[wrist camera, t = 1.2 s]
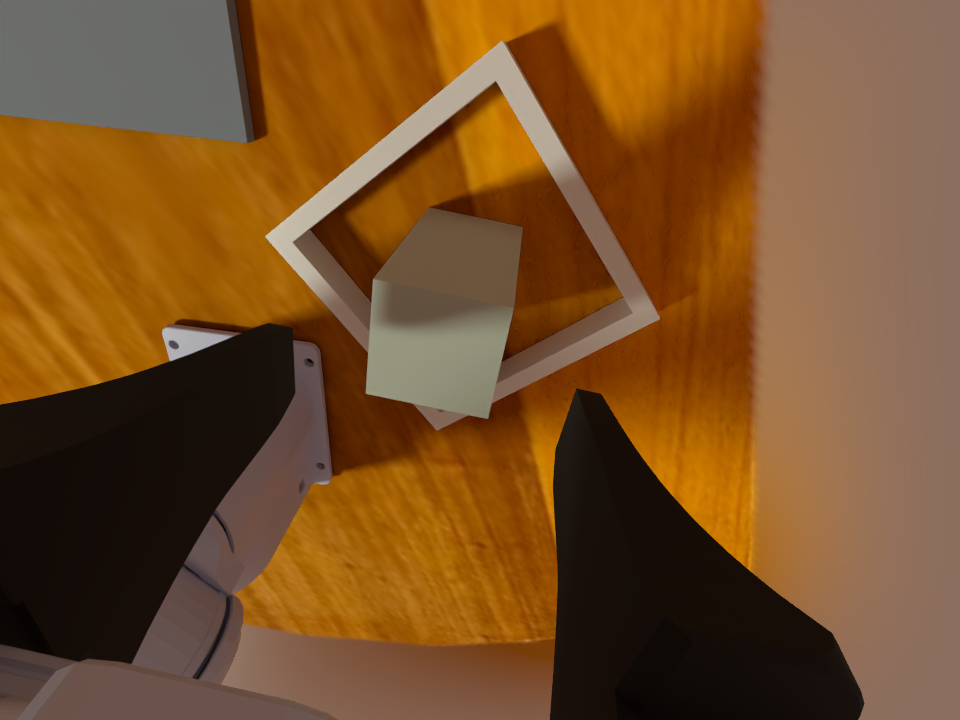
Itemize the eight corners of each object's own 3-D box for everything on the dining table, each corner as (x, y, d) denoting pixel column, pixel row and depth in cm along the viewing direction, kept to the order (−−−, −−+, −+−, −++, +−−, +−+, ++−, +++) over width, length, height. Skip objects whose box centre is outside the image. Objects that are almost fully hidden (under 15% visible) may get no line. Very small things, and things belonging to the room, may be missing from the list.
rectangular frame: (651, 300, 21) (660, 318, 20) (443, 408, 26) (436, 430, 24) (505, 42, 17) (502, 40, 16) (284, 224, 21) (265, 236, 20)
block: (523, 226, 20) (514, 308, 14) (504, 311, 23) (487, 418, 16) (429, 207, 20) (373, 279, 14) (418, 294, 23) (365, 393, 16)
